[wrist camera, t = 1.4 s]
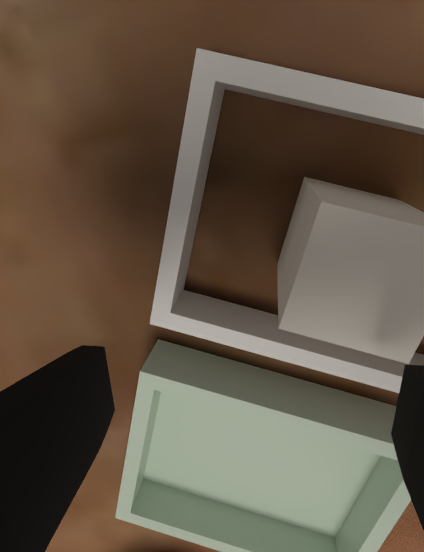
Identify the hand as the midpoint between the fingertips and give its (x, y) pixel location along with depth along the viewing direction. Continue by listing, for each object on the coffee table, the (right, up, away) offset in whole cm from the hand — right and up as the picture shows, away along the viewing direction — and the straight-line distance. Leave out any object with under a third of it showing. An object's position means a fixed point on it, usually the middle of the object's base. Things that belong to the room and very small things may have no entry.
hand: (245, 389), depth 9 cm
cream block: (+5, +5, +7) cm, 9 cm away
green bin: (+2, -7, +12) cm, 14 cm away
